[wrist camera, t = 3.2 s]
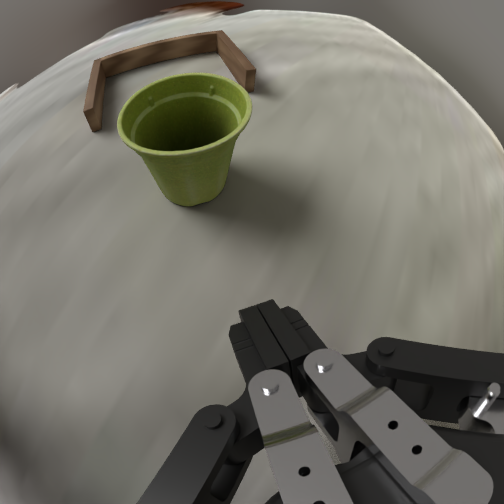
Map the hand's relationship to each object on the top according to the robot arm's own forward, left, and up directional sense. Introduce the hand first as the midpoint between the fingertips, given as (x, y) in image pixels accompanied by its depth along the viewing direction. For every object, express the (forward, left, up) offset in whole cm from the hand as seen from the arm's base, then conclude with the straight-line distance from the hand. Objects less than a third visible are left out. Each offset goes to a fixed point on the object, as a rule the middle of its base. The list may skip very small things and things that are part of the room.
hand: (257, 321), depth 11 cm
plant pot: (0, +14, -9) cm, 17 cm away
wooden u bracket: (0, +33, -8) cm, 35 cm away
